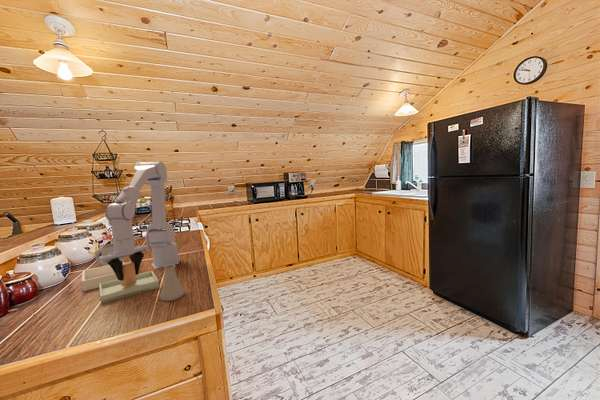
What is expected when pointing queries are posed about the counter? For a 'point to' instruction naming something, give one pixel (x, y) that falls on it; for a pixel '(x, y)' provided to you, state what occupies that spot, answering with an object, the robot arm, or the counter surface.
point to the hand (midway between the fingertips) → (128, 276)
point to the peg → (128, 274)
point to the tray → (127, 287)
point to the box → (97, 277)
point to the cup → (105, 252)
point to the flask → (171, 285)
